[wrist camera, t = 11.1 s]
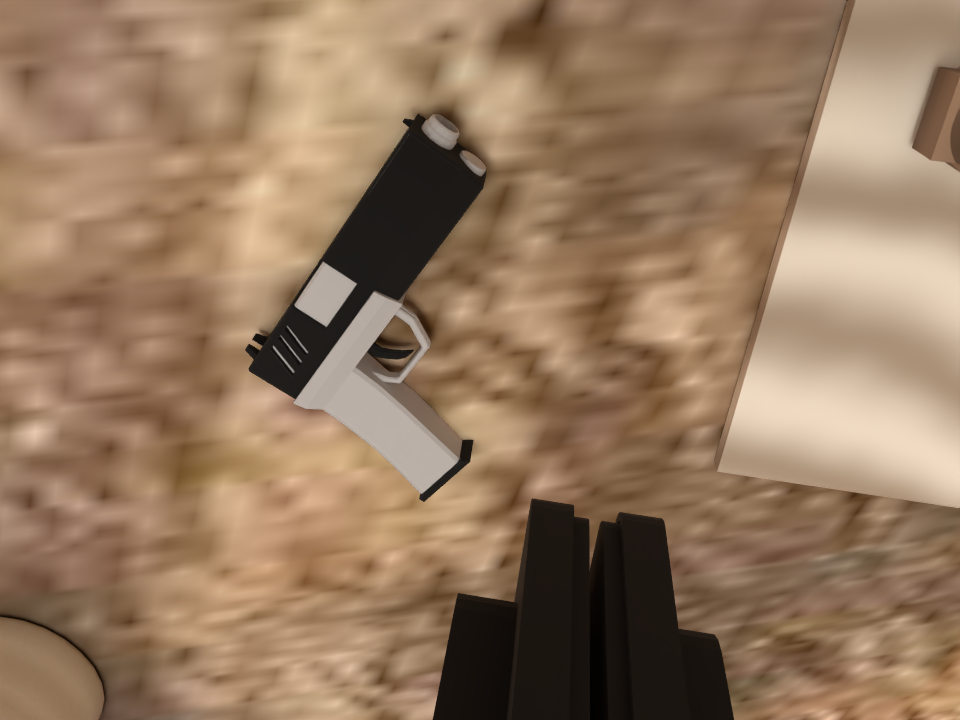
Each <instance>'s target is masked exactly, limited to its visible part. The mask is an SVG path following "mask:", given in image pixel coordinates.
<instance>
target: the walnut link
mask: <svg viewBox="0 0 960 720" xmlns="http://www.w3.org/2000/svg"><path fill="white" fill-rule="evenodd" d="M912 148H913V149H914V150H916V151H917V152H919V153H920V154H922V155H923V156H925V157H926V158H928V159H929V160H931V161H940V162H945V163H947V164H948V165H950V166H951V167H953V168H954V169H956V170H957V171H959V172H960V69H956V68H946V67H939V68H938V71H937V74H936V77H935V80H934V83H933V86H932V89H931V92H930V95H929V98H928V101H927V104H926V107H925V110H924V113H923V116H922V119H921V122H920V125H919V128H918V131H917V134H916V137H915V140H914V142H913V145H912Z"/></svg>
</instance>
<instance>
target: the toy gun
mask: <svg viewBox="0 0 960 720" xmlns="http://www.w3.org/2000/svg"><path fill="white" fill-rule="evenodd" d="M403 123H405V124H406V125H407V126H408V127H409V128H408V130H407V131H406V133H405V134H404V136H403V137H402V139H401V140H400V142H399V143H398V145H397V146H396V148H395V149H394V151H393V152H392V154H391V155H390V157H389V158H388V160H387V161H386V163H385V164H384V166H383V167H382V169H381V170H380V172H379V173H378V175H377V176H376V178H375V179H374V180H373V182H372V183H371V185H370V186H369V188H368V189H367V191H366V192H365V194H364V195H363V197H362V198H361V200H360V201H359V203H358V204H357V206H356V207H355V209H354V210H353V212H352V213H351V215H350V216H349V218H348V219H347V221H346V222H345V224H344V225H343V227H342V228H341V230H340V231H339V233H338V234H337V236H336V237H335V239H334V240H333V242H332V243H331V245H330V246H329V248H328V249H327V251H326V252H325V254H324V255H323V257H322V258H321V260H320V261H319V263H318V264H317V266H316V267H315V269H314V270H313V272H312V273H311V275H310V276H309V278H308V279H307V281H306V282H305V284H304V285H303V287H302V288H301V290H300V291H299V293H298V294H297V296H296V297H295V299H294V300H293V302H292V303H291V304H290V306H289V307H288V309H287V310H286V312H285V313H284V315H283V316H282V318H281V319H280V321H279V322H278V324H277V325H276V327H275V328H274V330H273V331H272V333H271V334H270V336H269V337H266V336H263V335H260V334H255V336H254V337H253V339H252V340H254V341H255V342H257V343H259V344H260V345H262V346H263V347H262V348H261V350H258V349H257V348H255V347H253V346H252V345H250V344H249V345H248V346H247V348H246V349H245V351H246V352H247V353H248V354H249V355H250V356H251V357H252V358H253V359H254V361H253V362H252V364H251V365H250V367H249V371H250V372H251V373H253V374H255V375H256V376H258V377H260V378H261V379H263V380H265V381H266V382H268V383H269V384H271V385H273V386H274V387H276V388H278V389H279V390H281V391H283V392H284V393H286V394H288V395H289V396H291V397H293V398H294V399H295V401H294V404H296V405H298V406H301V407H303V408H305V409H323V410H324V411H325V412H327V413H328V414H330V415H331V416H332V417H334V418H335V419H337V420H338V421H339V422H341V423H342V424H344V425H345V426H346V427H348V428H349V429H350V430H352V431H353V432H354V433H355V434H357V435H358V436H359V437H360V438H362V439H363V440H364V441H366V442H367V443H368V444H369V445H371V446H372V447H373V448H374V449H375V450H377V451H378V452H379V453H380V454H381V455H382V456H383V457H384V458H385V459H386V460H388V461H389V462H390V463H391V464H392V465H393V466H394V467H395V468H396V469H397V470H398V471H399V472H400V473H401V474H402V475H403V476H404V477H405V478H406V479H407V480H408V481H409V483H410V484H411V485H412V486H413V487H414V488H415V489H416V490H417V491H418V492H419V493H420V498H419V499H420V500H422V501H423V502H424V501H426V500H427V499H428V498H429V497H430V496H431V495H432V494H434V493H435V492H436V491H437V490H438V489H439V488H440V487H442V486H443V485H444V484H445V483H446V482H447V481H448V480H450V479H451V478H452V477H453V476H454V475H455V474H456V473H458V472H459V471H460V470H461V469H462V468H463V467H464V466H466V465H467V464H468V463H469V462H470V459H471V452H472V445H473V440H462V439H461V438H460V437H459V436H458V435H457V434H456V433H455V432H454V431H453V430H452V429H451V428H450V427H449V426H448V425H447V424H446V423H445V422H444V421H443V420H442V418H441V417H440V416H439V415H438V414H437V413H436V412H435V411H434V410H433V409H432V408H431V407H430V406H429V405H428V404H427V403H426V402H425V401H424V400H423V399H422V398H421V397H420V396H419V395H417V394H416V393H415V392H414V391H413V390H412V389H411V388H410V387H408V386H407V385H406V384H405V383H403V382H402V381H403V380H404V378H405V377H406V376H407V375H408V373H409V372H410V371H411V370H412V368H413V367H414V366H415V365H416V363H417V362H418V361H419V360H420V358H421V357H422V356H423V355H424V353H425V352H426V351H427V350H428V348H429V347H430V345H431V342H430V339H429V337H428V335H427V333H426V331H425V330H424V328H423V326H422V324H421V322H420V321H419V319H418V317H417V315H416V314H415V313H414V312H413V311H411V310H410V309H408V308H407V307H406V306H404V305H403V301H404V298H405V295H406V293H407V290H408V288H409V287H410V285H411V284H412V283H413V281H414V280H415V279H416V277H417V276H418V275H419V273H420V272H421V271H422V269H423V268H424V267H425V265H426V264H427V263H428V261H429V260H430V259H431V257H432V256H433V255H434V253H435V252H436V251H437V249H438V248H439V247H440V245H441V244H442V243H443V241H444V240H445V238H446V237H447V236H448V234H449V233H450V232H451V230H452V229H453V228H454V226H455V225H456V224H457V222H458V221H459V220H460V218H461V217H462V216H463V214H464V213H465V212H466V210H467V209H468V208H469V206H470V205H471V204H472V202H473V201H474V200H475V198H476V197H477V196H478V194H479V193H480V192H481V190H482V189H483V186H484V182H485V178H486V166H485V165H484V163H483V162H482V161H481V160H480V159H478V158H477V157H476V156H475V155H473V154H471V153H470V152H468V151H467V150H466V149H465V148H463V147H462V146H461V145H459V144H458V143H457V141H456V140H457V138H458V137H459V130H458V129H457V127H456V126H455V125H454V124H453V123H451V122H450V121H449V120H447V119H446V118H444V117H443V116H441V115H438V114H433V115H431V117H430V118H429V119H428V120H426V119H425V118H424V117H422V116H421V115H420V114H418V115H417V116H416V118H415V119H414V120H411V119H404V120H403ZM394 315H396V316H398V317H399V318H401V319H402V320H403V321H405V322H406V323H408V324H409V325H410V327H411V329H412V330H413V332H414V334H415V336H416V338H417V339H418V341H419V343H420V345H421V347H420V348H419V349H418V351H417V352H416V353H415V354H414V356H413V357H412V358H411V359H410V361H409V362H408V363H407V364H406V366H405V367H404V368H403V370H402V371H401V372H389V371H388V370H386V369H385V368H384V367H383V366H382V365H381V364H380V363H379V362H377V361H376V360H375V359H374V358H373V357H372V356H371V355H370V354H369V353H371V354H372V355H374V356H375V357H379V358H385V359H402V358H406V357H407V356H408V355H410V354H411V353H412V352H413V351H414V350H393V349H386V348H382V347H380V346H379V345H377V344H376V343H375V342H374V341H375V340H376V339H377V337H378V336H379V335H380V333H381V332H382V331H383V329H384V328H385V327H386V325H387V324H388V323H389V321H390V320H391V319H392V318H393V316H394ZM367 351H368V352H369V353H368V352H367Z"/></svg>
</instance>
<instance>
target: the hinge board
mask: <svg viewBox="0 0 960 720" xmlns="http://www.w3.org/2000/svg"><path fill="white" fill-rule="evenodd" d="M939 67H946V68H956V69H960V0H847V4H846V7H845V11H844V14H843V18H842V21H841V24H840V28H839V31H838V35H837V38H836V42H835V45H834V49H833V52H832V56H831V59H830V62H829V66H828V69H827V73H826V76H825V80H824V83H823V87H822V90H821V94H820V97H819V101H818V104H817V107H816V111H815V114H814V118H813V121H812V125H811V128H810V132H809V135H808V139H807V142H806V145H805V149H804V152H803V156H802V159H801V163H800V166H799V170H798V173H797V177H796V180H795V183H794V187H793V190H792V194H791V197H790V201H789V204H788V208H787V211H786V215H785V218H784V222H783V225H782V228H781V232H780V235H779V239H778V242H777V246H776V249H775V253H774V256H773V260H772V263H771V266H770V270H769V273H768V277H767V280H766V284H765V287H764V291H763V294H762V298H761V301H760V305H759V308H758V311H757V315H756V318H755V322H754V325H753V329H752V332H751V336H750V339H749V343H748V346H747V349H746V353H745V356H744V360H743V363H742V367H741V370H740V374H739V377H738V381H737V384H736V387H735V391H734V394H733V398H732V401H731V405H730V408H729V412H728V415H727V419H726V422H725V426H724V429H723V432H722V436H721V439H720V443H719V446H718V450H717V453H716V457H715V464H716V468H717V472H724V473H731V474H737V475H744V476H751V477H757V478H764V479H770V480H777V481H784V482H790V483H797V484H804V485H810V486H817V487H824V488H830V489H837V490H843V491H850V492H857V493H863V494H870V495H877V496H883V497H890V498H897V499H903V500H910V501H916V502H923V503H930V504H936V505H943V506H950V507H956V508H960V172H959V171H957V170H956V169H954V168H953V167H951V166H950V165H948V164H947V163H945V162H940V161H931V160H929V159H928V158H926V157H925V156H923V155H922V154H920V153H919V152H917V151H916V150H914V149H913V148H912V145H913V142H914V140H915V137H916V134H917V131H918V128H919V125H920V122H921V119H922V116H923V113H924V110H925V107H926V104H927V101H928V98H929V95H930V92H931V89H932V86H933V83H934V80H935V77H936V74H937V71H938V68H939Z"/></svg>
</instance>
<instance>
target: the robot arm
mask: <svg viewBox="0 0 960 720" xmlns="http://www.w3.org/2000/svg"><path fill="white" fill-rule="evenodd" d="M433 720H734V717H733V711H732V706H731V700H730V695H729V690H728V684H727V679H726V674H725V668H724V663H723V657H722V652H721V648H720V645H719V641H718V639H717V638H716V636H715V635H714V634H708V633H702V632H696V631H689V630H683V629H678V621H677V614H676V606H675V598H674V591H673V583H672V575H671V568H670V560H669V552H668V545H667V537H666V529H665V524H664V520H663V519H661V518H655V517H648V516H642V515H635V514H629V513H622V512H620V513H619V514H618V516H617V519H616V523H612V522H605V521H602V522H601V523H600V527H599V531H598V535H597V540H596V544H595V549H594V553H593V558H592V563H591V567H590V572H589V519H586V518H580V517H574V505H570V504H564V503H557V502H551V501H544V500H538V499H532V500H531V505H530V510H529V516H528V522H527V528H526V534H525V540H524V547H523V553H522V559H521V565H520V571H519V577H518V583H517V589H516V595H515V601H514V602H509V601H503V600H497V599H491V598H485V597H478V596H472V595H466V594H460V593H458V595H457V599H456V604H455V609H454V614H453V619H452V624H451V629H450V635H449V640H448V645H447V650H446V655H445V660H444V665H443V670H442V675H441V681H440V686H439V691H438V696H437V701H436V706H435V711H434V716H433Z"/></svg>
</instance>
